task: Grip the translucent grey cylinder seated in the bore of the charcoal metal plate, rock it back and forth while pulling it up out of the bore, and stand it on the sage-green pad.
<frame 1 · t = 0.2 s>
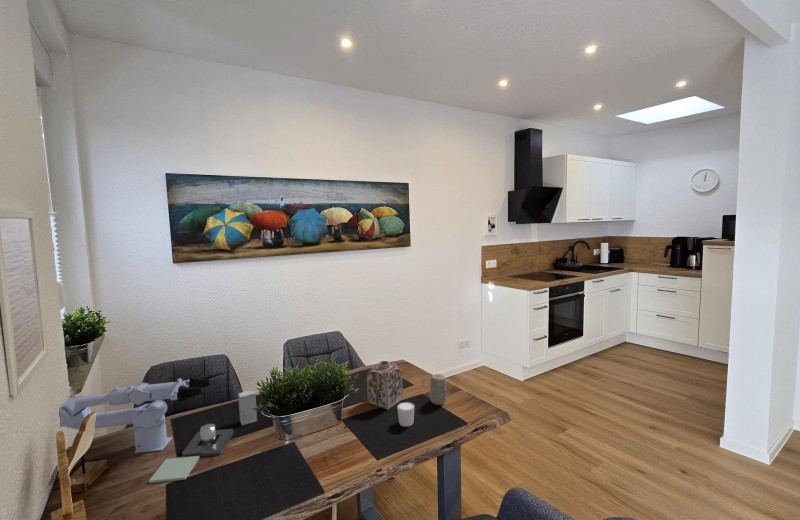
hand: (205, 386, 140), 21 cm above the table, tool horizontal, fingers open, 7 cm apart
translucent grey cylinder: (208, 436, 139), in the bore plate
bore plate: (209, 445, 140), on the table
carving: (438, 402, 166), on the table
white cup: (406, 423, 151), on the table
sage pad: (175, 469, 126), on the table
decorative jar: (385, 401, 169), on the table
skincare box: (248, 421, 156), on the table
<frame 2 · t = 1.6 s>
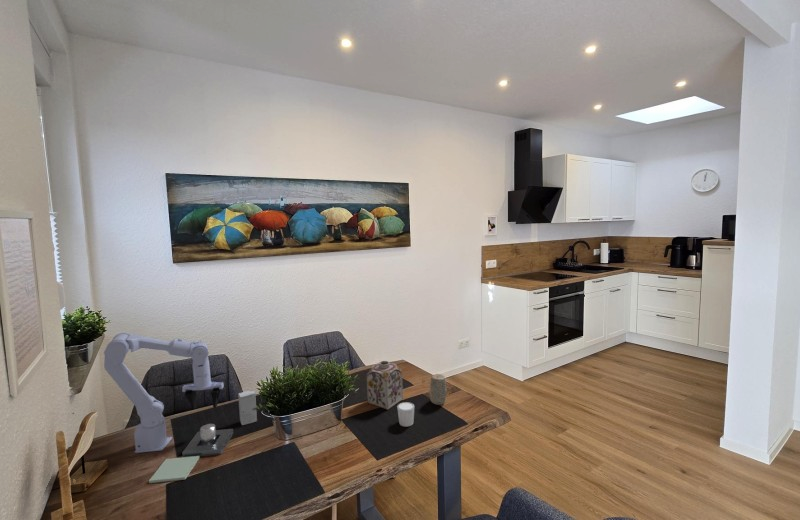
hand: (205, 407, 147), 10 cm above the table, tool pointing down, fingers open, 7 cm apart
nothing on the table moved.
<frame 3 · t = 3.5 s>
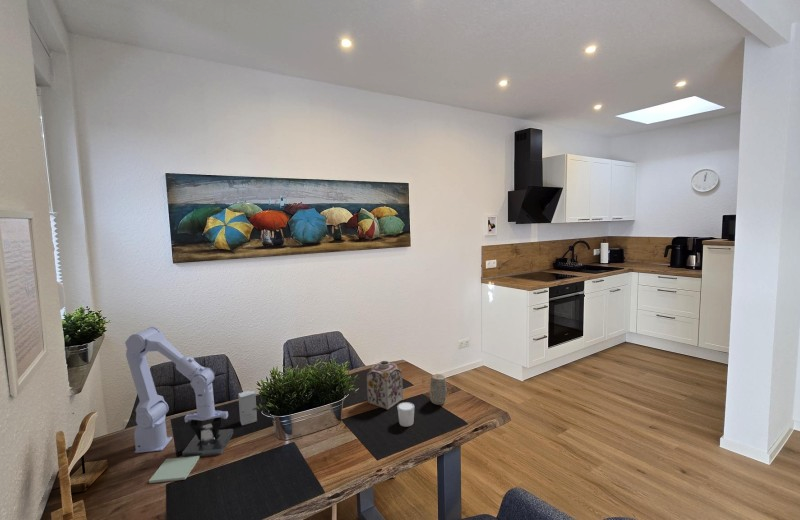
hand: (208, 437, 139), 3 cm above the table, tool pointing down, fingers closed on translucent grey cylinder, 5 cm apart
translucent grey cylinder: (208, 436, 139), in the bore plate, touching gripper
everything else where it was.
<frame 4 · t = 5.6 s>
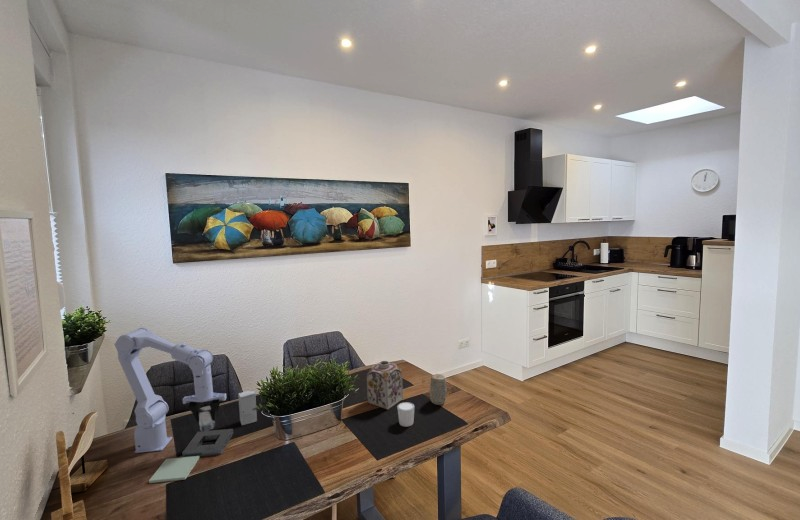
hand: (206, 419, 139), 10 cm above the table, tool pointing down, fingers closed on translucent grey cylinder, 5 cm apart
translucent grey cylinder: (206, 418, 139), point 10 cm above the table, touching gripper
everything else where it was.
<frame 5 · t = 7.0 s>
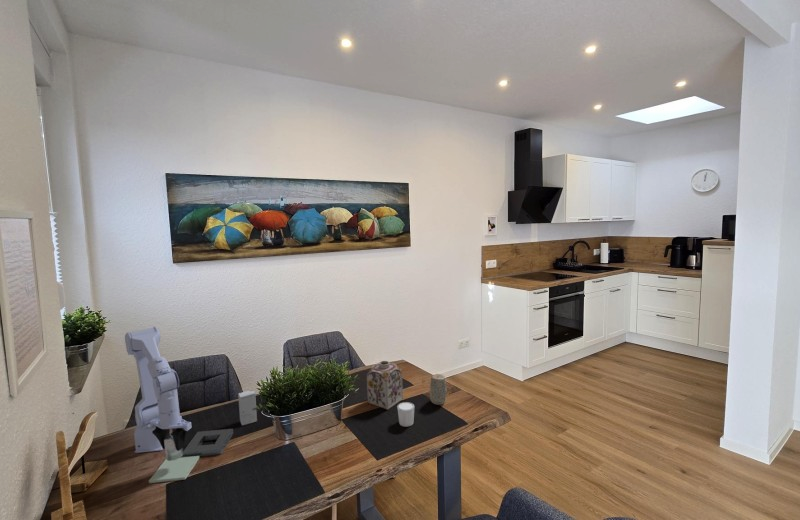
hand: (173, 448, 125), 8 cm above the table, tool pointing down, fingers closed on translucent grey cylinder, 5 cm apart
translucent grey cylinder: (173, 446, 126), point 8 cm above the table, touching gripper
everything else where it was.
when the fingers open (5 cm above the table, at t = 8.0 s): translucent grey cylinder stays where it is, resting on sage pad.
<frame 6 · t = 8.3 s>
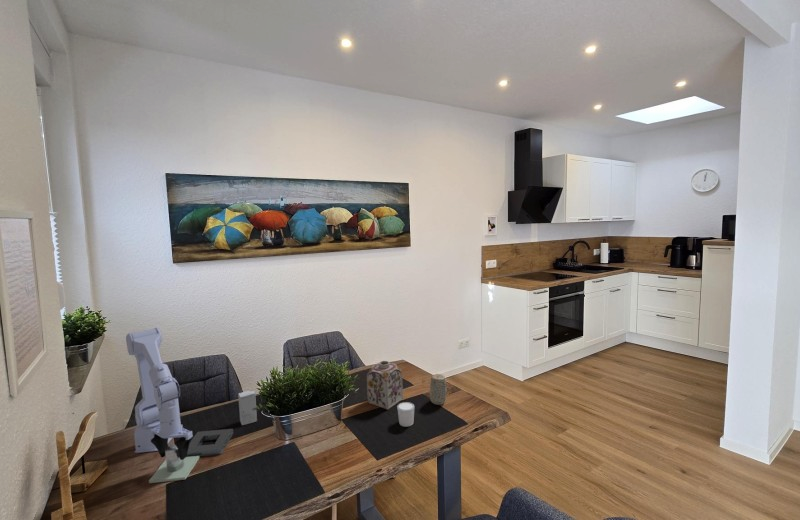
hand: (174, 456, 126), 5 cm above the table, tool pointing down, fingers open, 7 cm apart
translucent grey cylinder: (174, 457, 126), on the sage pad, point 4 cm above the table
everything else where it was.
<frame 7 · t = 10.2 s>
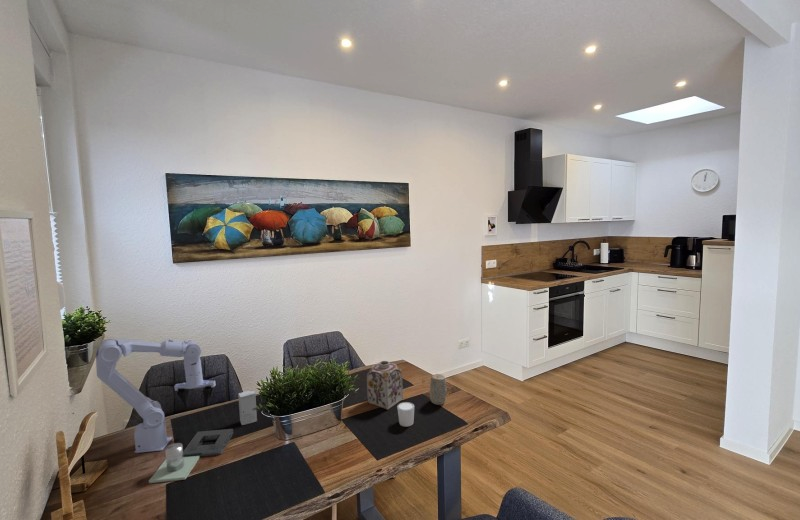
hand: (197, 405, 149), 10 cm above the table, tool pointing down, fingers open, 7 cm apart
nothing on the table moved.
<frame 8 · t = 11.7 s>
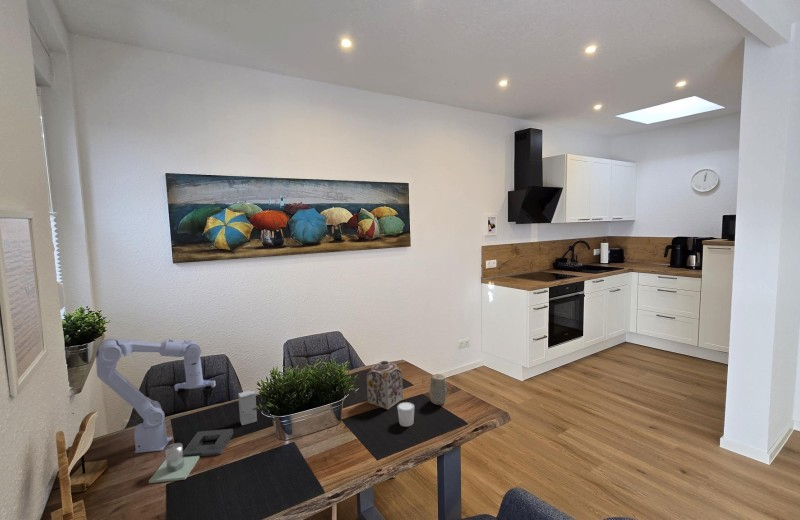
hand: (197, 405, 149), 10 cm above the table, tool pointing down, fingers open, 7 cm apart
nothing on the table moved.
at the end: translucent grey cylinder 0.3 cm off-centre on the sage pad, point 4.3 cm above the sage pad's base; translucent grey cylinder tilted 1°; the gripper is holding nothing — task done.
